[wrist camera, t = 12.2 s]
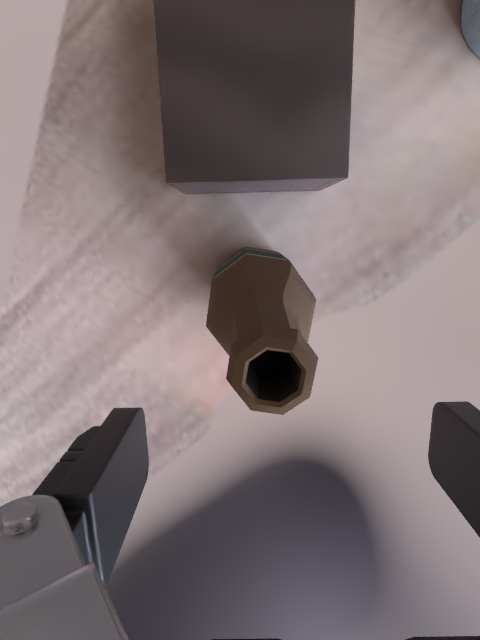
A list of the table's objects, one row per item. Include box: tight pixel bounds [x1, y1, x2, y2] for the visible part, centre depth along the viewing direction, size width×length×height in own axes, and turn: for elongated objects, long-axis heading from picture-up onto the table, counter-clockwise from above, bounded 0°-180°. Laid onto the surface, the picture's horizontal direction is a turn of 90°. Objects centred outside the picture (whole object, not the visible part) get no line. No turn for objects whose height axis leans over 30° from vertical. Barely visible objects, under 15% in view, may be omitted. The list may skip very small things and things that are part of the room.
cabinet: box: [154, 0, 355, 194], centre depth 29 cm, size 15×13×10 cm
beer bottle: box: [206, 247, 318, 415], centre depth 26 cm, size 8×8×24 cm
